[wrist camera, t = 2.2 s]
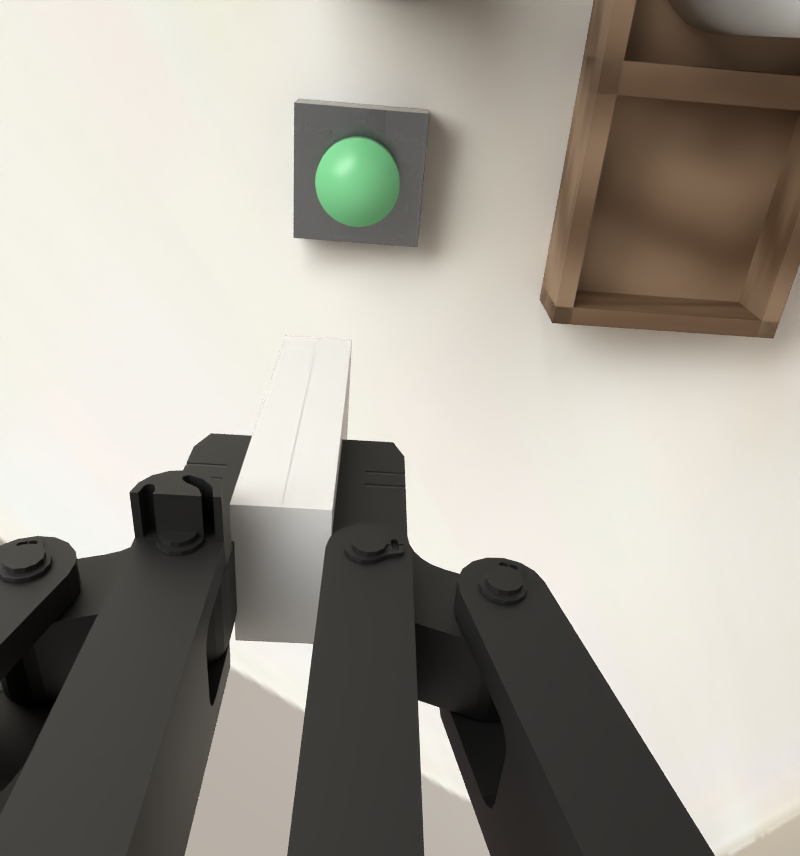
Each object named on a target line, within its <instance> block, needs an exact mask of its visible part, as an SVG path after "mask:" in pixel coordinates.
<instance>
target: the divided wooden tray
mask: <svg viewBox="0 0 800 856" xmlns="http://www.w3.org/2000/svg"><path fill="white" fill-rule="evenodd" d="M799 264H800V38H791V37H766V36H742V35H718V34H712V33H707V32H704V31H701V30H699V29H697V28H695V27H693V26H691V25H690V24H688V23H687V22H686V21H684V20H683V19H682V18H681V17H680V16H679V15H678V14H677V12H676V11H675V10H674V8H673V7H672V5H671V4H670V2H669V0H594V2H593V7H592V13H591V19H590V24H589V30H588V35H587V41H586V46H585V52H584V57H583V63H582V68H581V74H580V80H579V85H578V91H577V96H576V102H575V107H574V113H573V118H572V124H571V129H570V135H569V141H568V146H567V152H566V157H565V163H564V168H563V174H562V179H561V185H560V190H559V196H558V202H557V207H556V213H555V218H554V224H553V229H552V235H551V240H550V246H549V252H548V257H547V263H546V268H545V274H544V279H543V285H542V290H541V296H540V301H541V303H542V304H543V306H544V308H545V310H546V312H547V314H548V315H549V317H550V319H551V321H552V323H560V324H574V325H588V326H603V327H617V328H632V329H646V330H660V331H675V332H689V333H704V334H718V335H732V336H747V337H761V338H774V335H775V332H776V329H777V326H778V324H779V321H780V318H781V315H782V312H783V309H784V307H785V304H786V301H787V298H788V295H789V293H790V290H791V287H792V284H793V281H794V278H795V276H796V273H797V270H798V267H799Z"/></svg>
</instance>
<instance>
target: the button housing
mask: <svg viewBox="0 0 800 856" xmlns="http://www.w3.org/2000/svg"><path fill="white" fill-rule="evenodd" d="M428 122H429V112H428V110H426V109H414V108H402V107H390V106H378V105H366V104H354V103H342V102H331V101H319V100H307V99H298V100H297V101H296V102H294V238H305V239H318V240H332V241H345V242H359V243H372V244H386V245H399V246H413V247H417V244H418V233H419V222H420V210H421V199H422V188H423V177H424V166H425V155H426V144H427V133H428ZM353 136H362V137H367V138H371V139H373V140H375V141H377V142H379V143H380V144H382V145H383V146H384V147H385V148H386V149H387V150H388V151H389V152H390V153H391V155H392V156H393V158H394V160H395V162H396V164H397V167H398V171H399V180H400V189H399V195H398V198H397V201H396V203H395V205H394V207H393V209H392V210H391V211H390V213H389V214H388V215H387V216H386V217H385V218H383V219H382V220H381V221H379V222H377V223H375V224H372V225H369V226H364V227H353V226H348V225H345V224H342V223H340V222H338V221H336V220H335V219H334V218H332V217H331V216H330V215H329V214H328V213H327V212H326V211H325V210H324V208H323V207H322V205H321V203H320V201H319V199H318V196H317V193H316V187H315V178H316V172H317V168H318V165H319V163H320V161H321V159H322V157H323V155H324V154H325V152H326V151H327V150H328V149H329V148H330V147H331V146H332V145H333V144H334V143H336V142H338V141H339V140H342V139H344V138H348V137H353Z"/></svg>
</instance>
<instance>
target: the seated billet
mask: <svg viewBox="0 0 800 856" xmlns="http://www.w3.org/2000/svg"><path fill="white" fill-rule="evenodd" d="M669 2H670V4H671V5H672V7H673V8H674V10H675V11H676V12H677V14H678V15H679V16H680V17H681V18H682V19H683V20H684V21H686V22H687V23H688V24H690V25H691V26H693V27H695V28H697V29H699V30H701V31H704V32H707V33H712V34H718V35H742V36H766V37H791V38H800V0H669Z"/></svg>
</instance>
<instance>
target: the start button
mask: <svg viewBox="0 0 800 856" xmlns="http://www.w3.org/2000/svg"><path fill="white" fill-rule="evenodd" d="M315 187H316V193H317V196H318V199H319V201H320V203H321V205H322V207H323V208H324V210H325V211H326V212H327V213H328V214H329V215H330V216H331V217H332V218H334V219H335V220H336V221H338V222H340V223H342V224H345V225H348V226H353V227H364V226H369V225H372V224H375V223H377V222H379V221H381V220H382V219H383V218H385V217H386V216H387V215H388V214H389V213H390V211H391V210H392V209H393V207H394V205H395V203H396V201H397V198H398V195H399V189H400V180H399V171H398V167H397V164H396V162H395V160H394V158H393V156H392V155H391V153H390V152H389V151H388V150H387V149H386V148H385V147H384V146H383V145H382V144H380V143H379V142H377V141H375V140H373V139H371V138H367V137H362V136H353V137H348V138H344V139H342V140H339V141H338V142H336V143H334V144H333V145H332V146H331V147H330V148H329V149H328V150H327V151H326V152H325V154H324V155H323V157H322V159H321V161H320V163H319V165H318V168H317V172H316V178H315Z"/></svg>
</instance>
